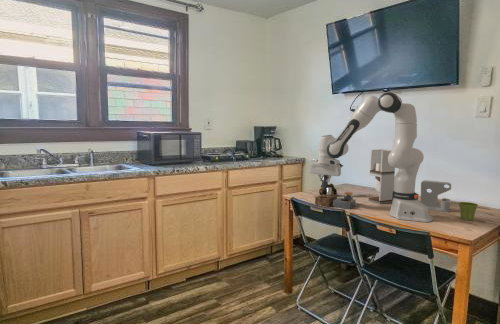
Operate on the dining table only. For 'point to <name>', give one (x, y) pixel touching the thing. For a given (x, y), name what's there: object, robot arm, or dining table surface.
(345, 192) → the release key
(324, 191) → the drill bit
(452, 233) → the dining table surface
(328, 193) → the racked bit
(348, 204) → the socket block
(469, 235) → the dining table surface
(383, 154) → the display case
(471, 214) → the plant pot
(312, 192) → the dining table surface
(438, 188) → the grey mounting bracket
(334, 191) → the power drill
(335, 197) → the bit rack
